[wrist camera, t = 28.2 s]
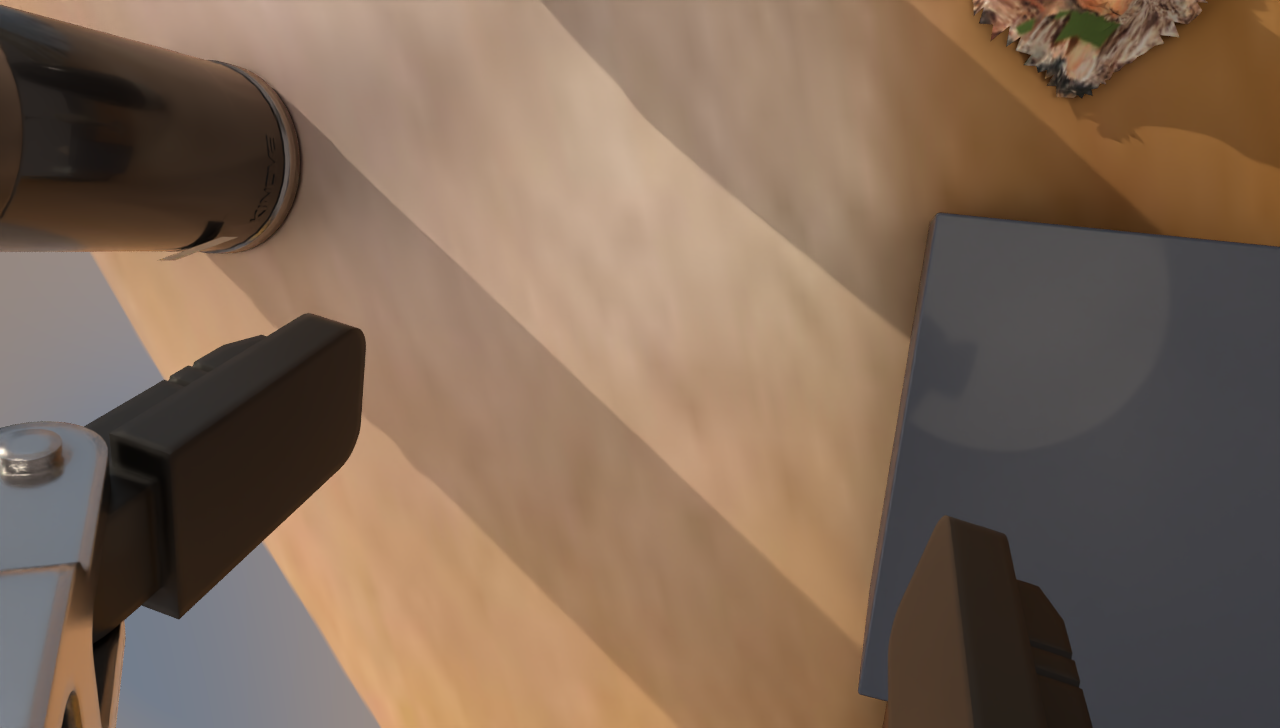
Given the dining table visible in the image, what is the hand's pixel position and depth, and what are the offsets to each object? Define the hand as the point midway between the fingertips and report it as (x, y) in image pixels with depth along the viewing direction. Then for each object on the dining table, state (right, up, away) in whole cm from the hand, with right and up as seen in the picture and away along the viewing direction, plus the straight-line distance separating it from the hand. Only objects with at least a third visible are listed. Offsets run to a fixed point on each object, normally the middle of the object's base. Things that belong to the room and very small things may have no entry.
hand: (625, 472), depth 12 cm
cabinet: (+18, -2, +23) cm, 29 cm away
